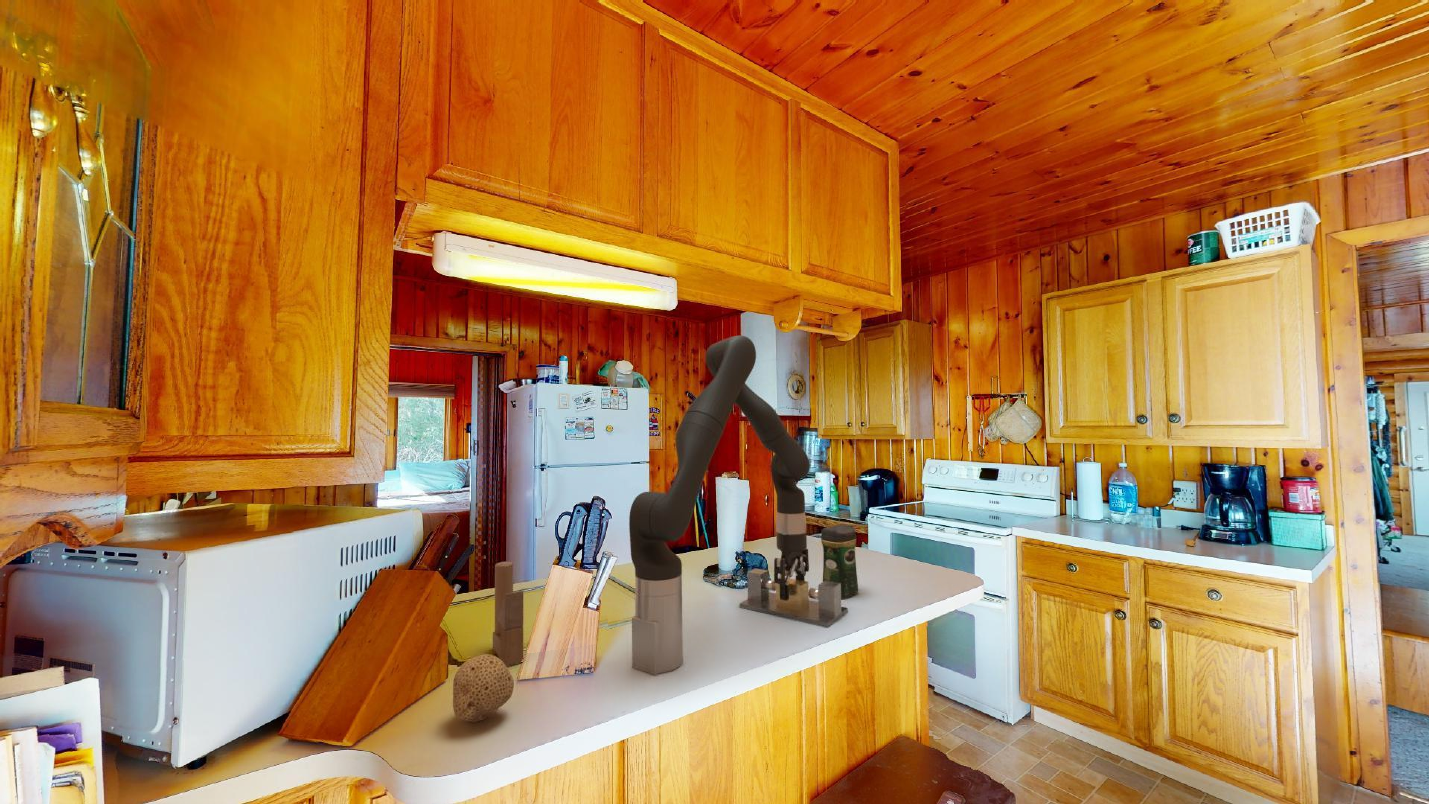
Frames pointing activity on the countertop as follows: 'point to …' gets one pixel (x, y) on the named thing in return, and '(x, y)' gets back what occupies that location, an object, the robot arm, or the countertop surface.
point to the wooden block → (507, 616)
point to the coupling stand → (815, 613)
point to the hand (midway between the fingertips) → (792, 595)
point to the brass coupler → (794, 595)
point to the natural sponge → (481, 687)
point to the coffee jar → (840, 557)
